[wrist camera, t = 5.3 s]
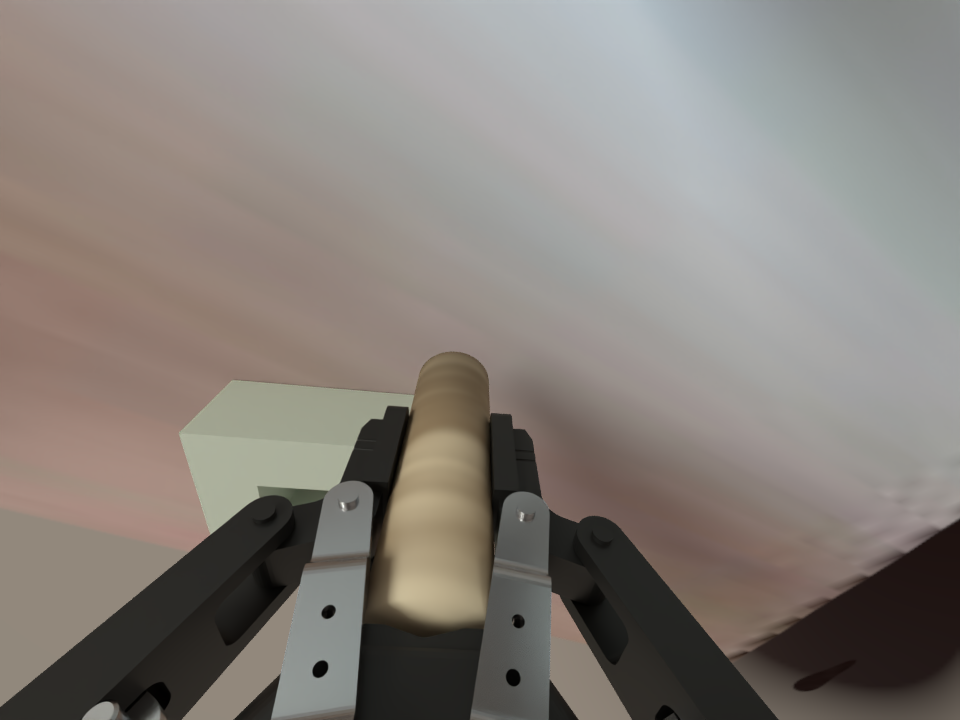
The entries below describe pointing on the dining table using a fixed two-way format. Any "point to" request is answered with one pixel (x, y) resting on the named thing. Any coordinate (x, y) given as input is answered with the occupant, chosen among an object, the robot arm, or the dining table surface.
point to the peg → (439, 508)
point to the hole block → (275, 442)
